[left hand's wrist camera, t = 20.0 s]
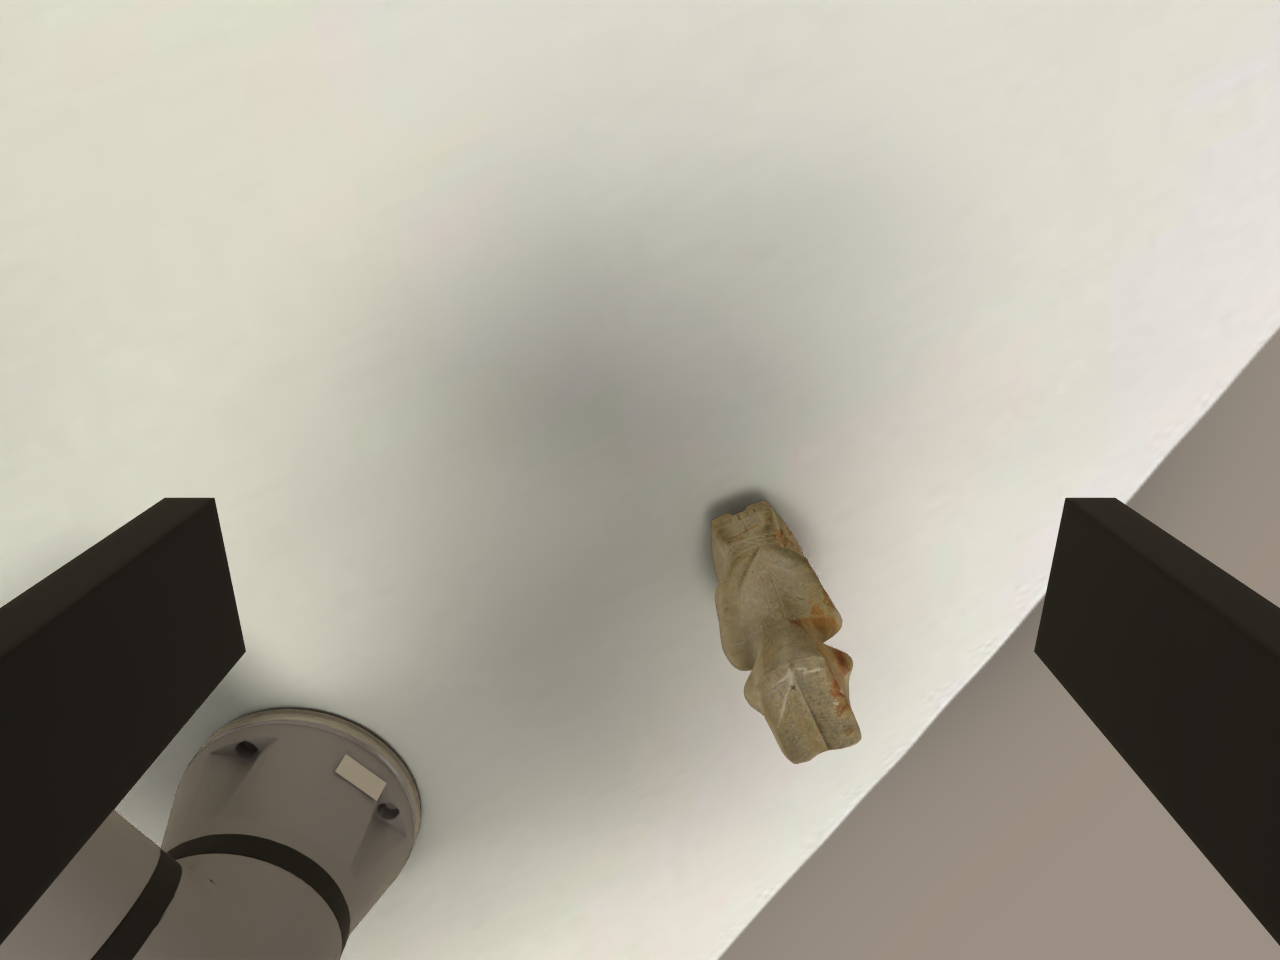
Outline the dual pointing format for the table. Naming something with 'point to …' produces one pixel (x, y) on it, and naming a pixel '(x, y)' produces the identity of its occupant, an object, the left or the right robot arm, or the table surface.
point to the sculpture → (782, 633)
